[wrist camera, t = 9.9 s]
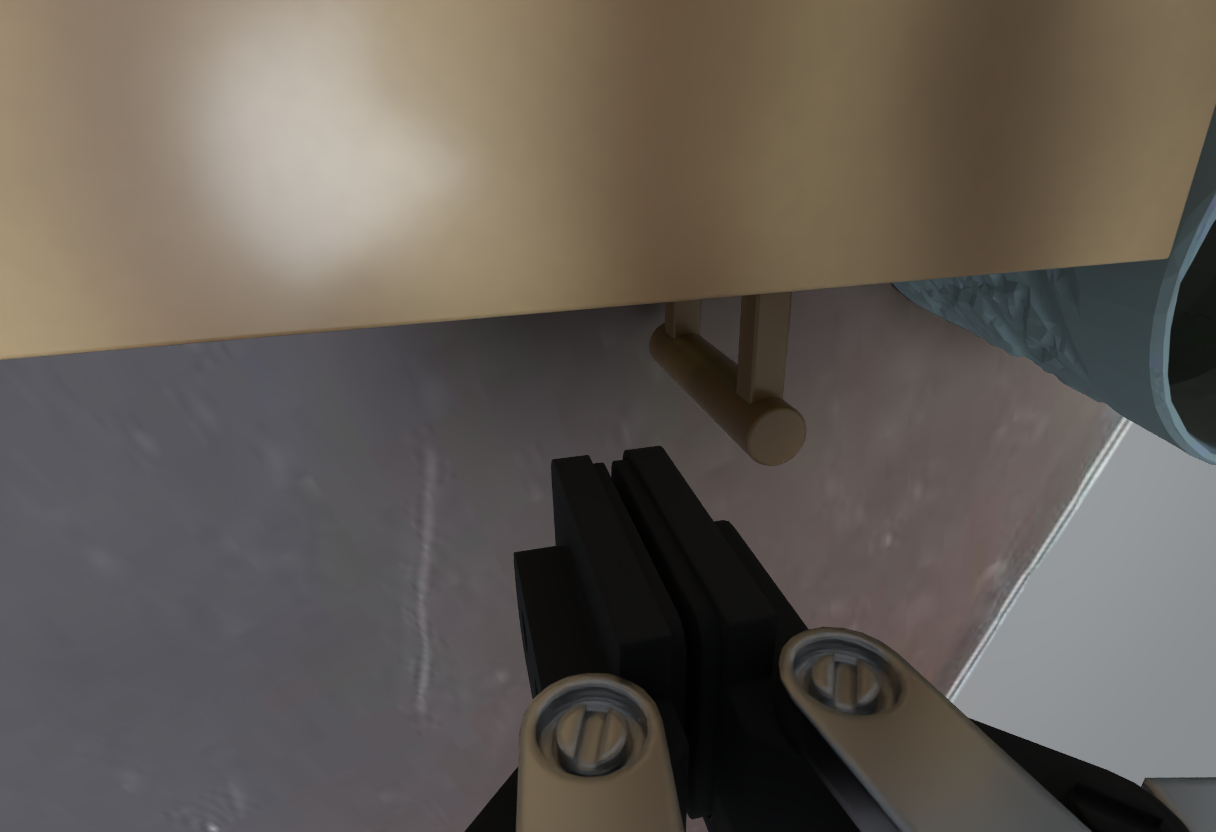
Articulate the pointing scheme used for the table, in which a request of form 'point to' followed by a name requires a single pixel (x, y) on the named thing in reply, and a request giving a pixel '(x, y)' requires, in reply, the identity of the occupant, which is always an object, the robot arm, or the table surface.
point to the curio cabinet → (567, 154)
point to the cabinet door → (737, 374)
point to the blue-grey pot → (1114, 323)
